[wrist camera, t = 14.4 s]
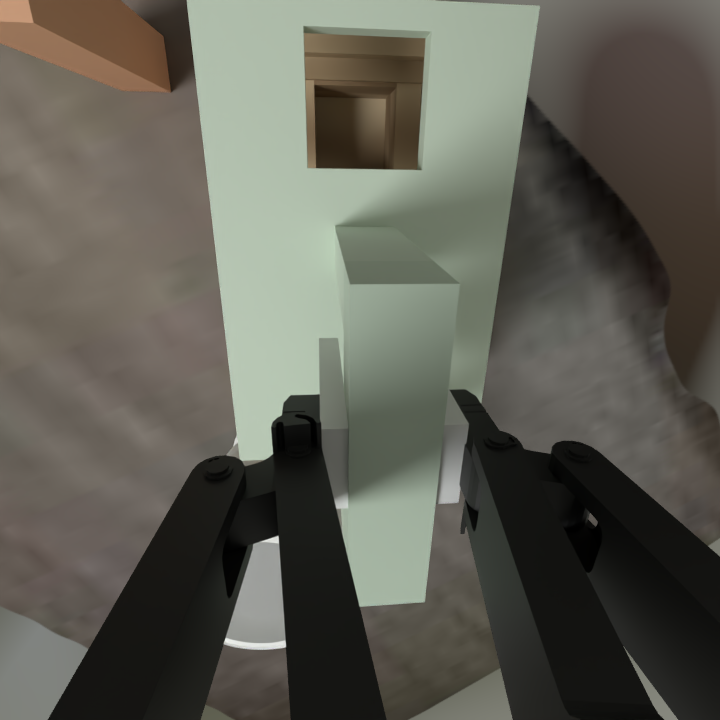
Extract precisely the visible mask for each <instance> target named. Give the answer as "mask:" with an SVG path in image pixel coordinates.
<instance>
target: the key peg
mask: <svg viewBox="0 0 720 720" xmlns="http://www.w3.org/2000/svg"><path fill="white" fill-rule="evenodd" d="M0 43H1V44H4V45H6V46H9V47H11V48H14V49H17V50H19V51H22V52H24V53H27V54H29V55H32V56H34V57H37V58H40V59H42V60H45V61H47V62H50V63H52V64H55V65H58V66H60V67H63V68H65V69H68V70H70V71H73V72H76V73H78V74H81V75H83V76H86V77H88V78H91V79H94V80H96V81H99V82H101V83H104V84H106V85H109V86H112V87H114V88H117V89H119V90H122V91H141V92H171V88H170V81H169V73H168V66H167V58H166V51H165V43H164V36H162V35H161V34H160V33H159V32H158V31H156V30H155V29H154V28H153V27H152V26H150V25H149V24H148V23H147V22H146V21H144V20H143V19H142V18H141V17H140V16H138V15H137V14H136V13H135V12H134V11H133V10H131V9H130V8H129V7H128V6H127V5H125V4H124V3H123V2H122V1H121V0H0Z"/></svg>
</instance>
